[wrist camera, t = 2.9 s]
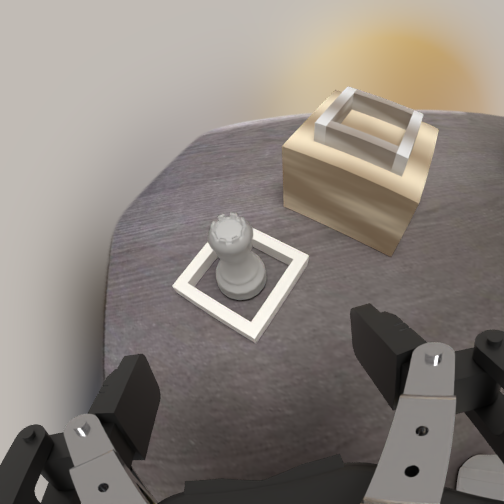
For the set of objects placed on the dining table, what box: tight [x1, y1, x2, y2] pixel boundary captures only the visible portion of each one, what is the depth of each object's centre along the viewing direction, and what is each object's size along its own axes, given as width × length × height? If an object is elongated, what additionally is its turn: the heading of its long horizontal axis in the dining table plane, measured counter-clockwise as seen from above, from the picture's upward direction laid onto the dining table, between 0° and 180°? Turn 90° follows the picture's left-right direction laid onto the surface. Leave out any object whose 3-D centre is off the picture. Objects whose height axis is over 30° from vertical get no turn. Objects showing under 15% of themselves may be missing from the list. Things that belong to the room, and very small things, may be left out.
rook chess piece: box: [208, 212, 267, 300], centre depth 24 cm, size 4×4×8 cm
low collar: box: [172, 228, 309, 343], centre depth 27 cm, size 9×9×2 cm
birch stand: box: [282, 87, 439, 257], centre depth 27 cm, size 12×12×10 cm
